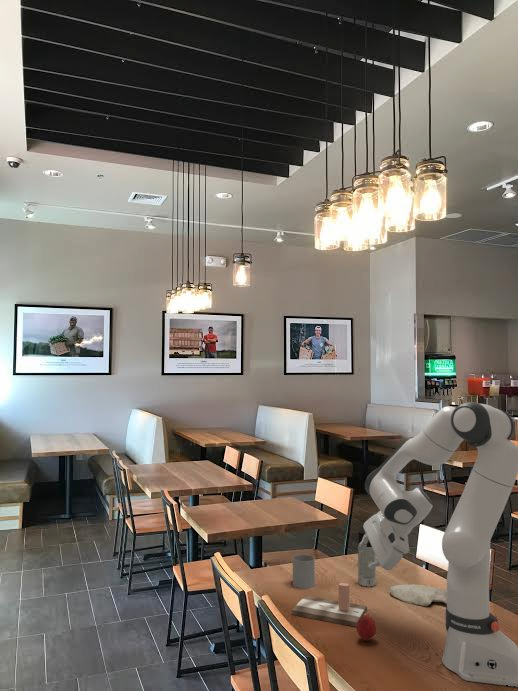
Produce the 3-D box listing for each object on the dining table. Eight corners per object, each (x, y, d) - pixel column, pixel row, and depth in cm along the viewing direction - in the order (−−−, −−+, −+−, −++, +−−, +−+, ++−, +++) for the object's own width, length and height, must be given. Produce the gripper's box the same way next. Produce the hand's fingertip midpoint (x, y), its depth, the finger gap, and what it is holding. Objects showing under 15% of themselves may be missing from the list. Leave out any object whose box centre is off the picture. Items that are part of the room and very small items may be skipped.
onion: (372, 647, 161) (371, 618, 161) (353, 642, 164) (353, 614, 164) (379, 639, 166) (378, 612, 166) (361, 634, 169) (360, 607, 169)
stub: (349, 608, 184) (349, 583, 184) (347, 611, 181) (347, 586, 182) (340, 606, 185) (340, 582, 185) (338, 609, 183) (338, 584, 183)
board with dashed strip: (367, 610, 187) (367, 605, 187) (356, 627, 174) (356, 621, 174) (306, 599, 196) (306, 594, 196) (292, 614, 183) (292, 609, 183)
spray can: (378, 583, 213) (377, 530, 215) (372, 588, 207) (371, 534, 209) (362, 579, 217) (361, 528, 218) (355, 585, 211) (355, 531, 212)
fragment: (452, 610, 189) (450, 595, 189) (393, 612, 192) (391, 598, 192) (444, 589, 204) (443, 576, 204) (389, 592, 207) (387, 579, 207)
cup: (313, 589, 206) (313, 562, 207) (291, 587, 208) (291, 560, 209) (315, 581, 214) (315, 555, 215) (294, 580, 216) (294, 554, 217)
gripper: (376, 504, 189) (349, 531, 192) (397, 546, 170) (367, 575, 173) (388, 512, 191) (362, 539, 194) (411, 555, 172) (381, 583, 175)
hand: (365, 556), depth 184 cm, fingers open, 8 cm apart
